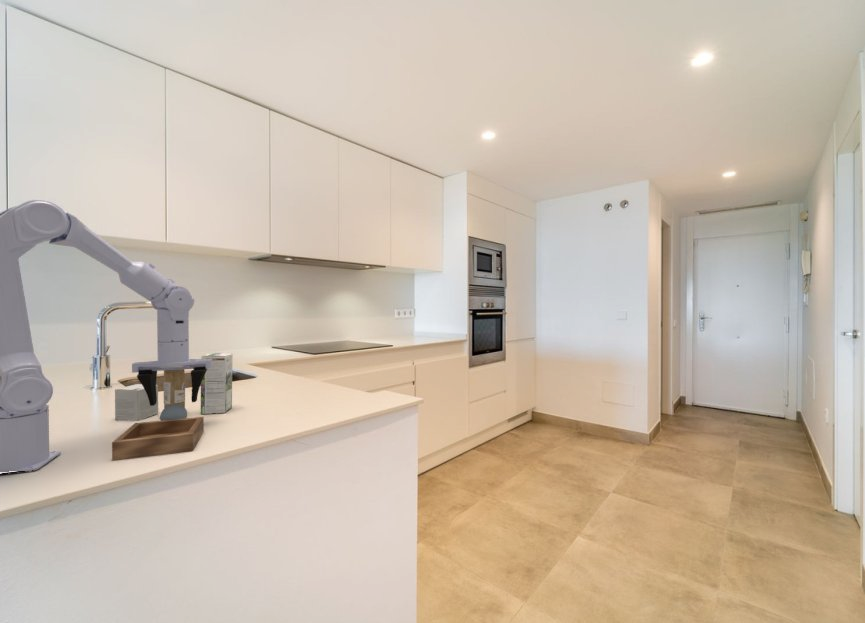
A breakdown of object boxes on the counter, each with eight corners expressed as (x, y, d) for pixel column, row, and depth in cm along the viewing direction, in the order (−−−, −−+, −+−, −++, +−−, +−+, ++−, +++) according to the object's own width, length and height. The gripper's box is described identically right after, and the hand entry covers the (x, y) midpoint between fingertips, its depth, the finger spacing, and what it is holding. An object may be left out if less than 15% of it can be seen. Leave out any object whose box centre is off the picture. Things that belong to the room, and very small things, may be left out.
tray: (112, 460, 67) (112, 442, 67) (135, 438, 78) (135, 422, 78) (192, 450, 72) (192, 434, 72) (203, 431, 83) (203, 416, 83)
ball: (157, 432, 82) (157, 408, 82) (163, 425, 87) (163, 402, 87) (184, 429, 84) (184, 406, 84) (189, 422, 89) (189, 400, 89)
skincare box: (136, 413, 96) (136, 383, 96) (159, 413, 96) (158, 384, 96) (114, 420, 90) (113, 388, 90) (138, 421, 90) (138, 389, 90)
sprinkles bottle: (185, 416, 94) (185, 360, 93) (162, 419, 91) (162, 362, 91) (185, 412, 98) (185, 358, 97) (163, 414, 95) (163, 359, 95)
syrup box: (208, 408, 101) (207, 352, 100) (233, 407, 102) (232, 352, 102) (200, 414, 95) (199, 355, 95) (226, 413, 96) (226, 355, 96)
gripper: (213, 338, 92) (214, 395, 92) (139, 340, 86) (140, 401, 86) (209, 341, 85) (209, 402, 85) (128, 343, 80) (129, 409, 80)
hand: (174, 402), depth 85 cm, fingers open, 7 cm apart
